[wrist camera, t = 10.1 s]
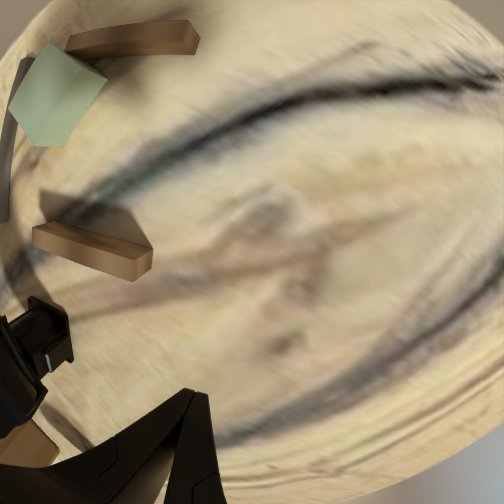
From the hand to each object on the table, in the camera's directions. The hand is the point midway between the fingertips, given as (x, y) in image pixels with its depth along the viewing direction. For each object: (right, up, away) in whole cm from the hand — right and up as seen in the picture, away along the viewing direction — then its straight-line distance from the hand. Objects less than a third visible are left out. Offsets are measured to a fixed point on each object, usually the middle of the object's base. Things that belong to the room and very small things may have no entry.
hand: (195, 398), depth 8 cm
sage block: (-15, +19, +10) cm, 26 cm away
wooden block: (-43, -33, +26) cm, 60 cm away
